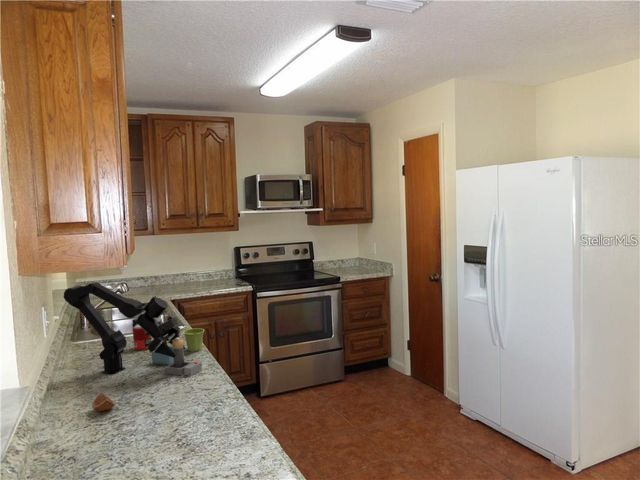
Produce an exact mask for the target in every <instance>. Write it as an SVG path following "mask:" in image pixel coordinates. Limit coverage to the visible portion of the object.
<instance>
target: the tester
mask: <svg viewBox="0 0 640 480" xmlns="http://www.w3.org/2000/svg"><path fill="white" fill-rule="evenodd" d="M202 363H203V362H201V361H197V360H196V361H193V362H192V361H185V360H184V364H185V366H184V367H182V368H175V367H174V363H172V364H170V365H165V367H163V370H164V374H165V375H172V374H173V375H174V376H181V375H182V376H186V375H188V376H187V377H192V376H194V375H196V374H197V373H199V372H201V371H202V370H203V364H202ZM201 369H202V370H201ZM200 370H201V371H200ZM198 371H199V372H198ZM196 372H197V373H196ZM195 373H196V374H195ZM183 374H184V375H183ZM193 374H194V375H193Z"/></svg>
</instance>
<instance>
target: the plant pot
mask: <svg viewBox="0 0 640 480" xmlns="http://www.w3.org/2000/svg"><path fill="white" fill-rule="evenodd" d="M204 332H205V329H204V328H188V329H186V330H184V331H183V332H182V333H183V335H184V338H185V341H186V342H185V343H186V348H187V351H189V352H190V353H191V352H193V353H196V352H197V351H199V350H200V351H201V350H203V337H204Z"/></svg>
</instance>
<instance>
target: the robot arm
mask: <svg viewBox="0 0 640 480" xmlns="http://www.w3.org/2000/svg"><path fill="white" fill-rule="evenodd" d="M90 294H91V295H94V296H95V297H97V298H99V299H101V300H102V301H105V302H106V303H108V304H109V305H112V306H114V307H115V308H116V309H118V311H119V312H120V314H122V315H123V316H124V317H126V318H128V319H132V318H133V319H132V328H133V327H135V326H137V325H139V326H140V327H141V328H143V329H144V330H145V331H146V332H147V334H146V335H147V336H149V335H150V336H151V338H152V342H151V343H150V344H149V345H148V351H149V352H150V354H152V352H153V351H154V353H159V354H163V355H167V356H170V357H173V358H175V357H176V355H175V353H174V352H173V351H172V350H171V349H170V348H169V346H170V345H172V340H174V339H175V338H180V339H181V336H180V334H181V328H180V327H179V326H178V325H179V322H178V318H177V317H176V316H174V315H170V316H169V317H168V318H167V320H166V321H164V322H163V321H158V320H157V319H158V318H160V316H162V314H163V313H164V312H165V311H166V310H167V308H168V307H169V305H168V303H167V302H166V300H164V299H162V298H160V297H157V296H156V295H154V296H152V297H151V298H150V299H149V301H148V303H142V302H141V301H139V300H137V299H134V298H129V297H125V296H123V295H120V294H119V293H117V292H115V291H113V290H111V289H109V288H107V287H106V286H104V285H102V284H101V283H99V282H98V281H94V282H91V283H87V284H86V285H76V286H72V287H68V288H66V289H65V290H64V292H63V299H64V300H65V302H67V303H68V305H70V306H71V307H73V308H75V309H78V310H79V311H80V313H81V314H82V315H83V317H84V318H85V319H86V320H87V321H88V323H89V324H90V325H91V326H92V327H93V329H94V330H95V332H97V334H98V335H99V336H100V338H101V339H100V340H101V344H102V347H103V350H102V351H101V352H100V353H99V354H98V356H99V358H100V360H103V369H104V370H101V373H102V374H109V375H114V374H116V373H119V372H121V371H124V370H126V367H124V365H123V357H122V354H123V353H124V352H125V349H126V348H127V344H128V341H127V339H126V338H127V337H126V336H125V335H124V334H123V333H122V331H121V329H118V330H113V328H111V326H110V325H109V324H108V322H107V321H106V320H105V319H104V318H103V317H102V314H100V312H99V311H98V310H97V308H95V306H94V305H93V303H92V302H91V299H90V298H91V297H90ZM143 312H144V313H143ZM135 317H137V318H135ZM168 344H170V345H168ZM183 349H184V350H186V347H185V345H184V343H183Z"/></svg>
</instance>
